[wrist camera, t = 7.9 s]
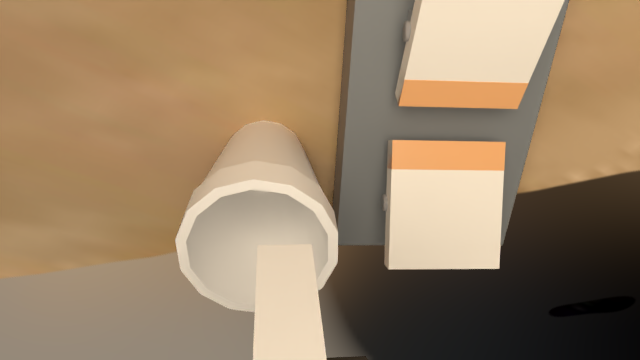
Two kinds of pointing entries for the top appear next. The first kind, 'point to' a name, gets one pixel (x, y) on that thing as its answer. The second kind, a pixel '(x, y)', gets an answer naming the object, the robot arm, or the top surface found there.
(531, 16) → the panel
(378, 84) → the switch unit
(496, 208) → the block
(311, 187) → the foam cup
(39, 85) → the top surface
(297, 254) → the robot arm
